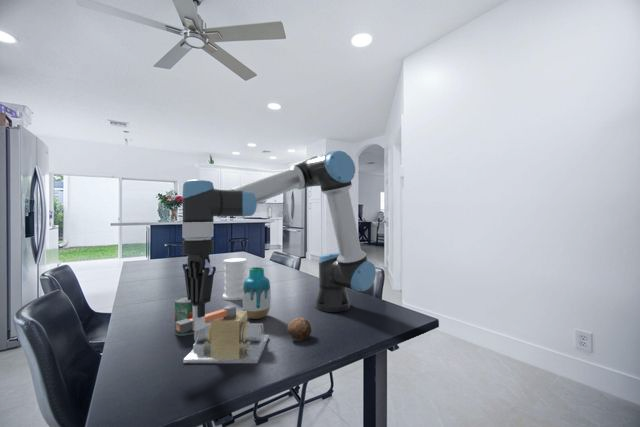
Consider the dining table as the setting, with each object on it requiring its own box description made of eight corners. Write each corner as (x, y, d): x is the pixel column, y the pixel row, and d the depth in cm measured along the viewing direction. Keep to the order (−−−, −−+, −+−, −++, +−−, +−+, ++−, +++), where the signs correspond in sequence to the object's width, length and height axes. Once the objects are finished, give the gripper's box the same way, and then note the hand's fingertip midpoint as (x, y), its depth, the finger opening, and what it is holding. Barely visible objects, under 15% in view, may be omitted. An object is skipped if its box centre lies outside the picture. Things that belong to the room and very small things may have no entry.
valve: (268, 338, 88) (268, 307, 88) (257, 363, 73) (257, 326, 73) (206, 337, 88) (206, 307, 88) (183, 363, 73) (183, 325, 73)
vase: (264, 324, 99) (264, 271, 99) (237, 321, 101) (237, 270, 101) (274, 313, 110) (274, 266, 110) (250, 311, 112) (250, 265, 112)
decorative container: (229, 292, 139) (229, 257, 139) (251, 293, 137) (251, 258, 138) (218, 299, 128) (218, 261, 128) (241, 300, 126) (241, 262, 126)
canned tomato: (175, 328, 96) (175, 296, 96) (200, 324, 99) (200, 294, 99) (173, 337, 88) (173, 303, 88) (200, 333, 91) (200, 300, 92)
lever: (231, 312, 83) (231, 304, 83) (238, 315, 81) (238, 307, 81) (174, 331, 70) (174, 321, 70) (181, 334, 68) (181, 325, 68)
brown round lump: (287, 321, 93) (293, 310, 90) (308, 329, 94) (315, 318, 91) (281, 341, 86) (287, 330, 83) (304, 350, 87) (311, 339, 84)
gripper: (224, 238, 71) (225, 329, 70) (199, 237, 79) (200, 319, 78) (197, 240, 65) (197, 340, 64) (172, 239, 73) (172, 327, 72)
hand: (198, 328), depth 71 cm, fingers closed
